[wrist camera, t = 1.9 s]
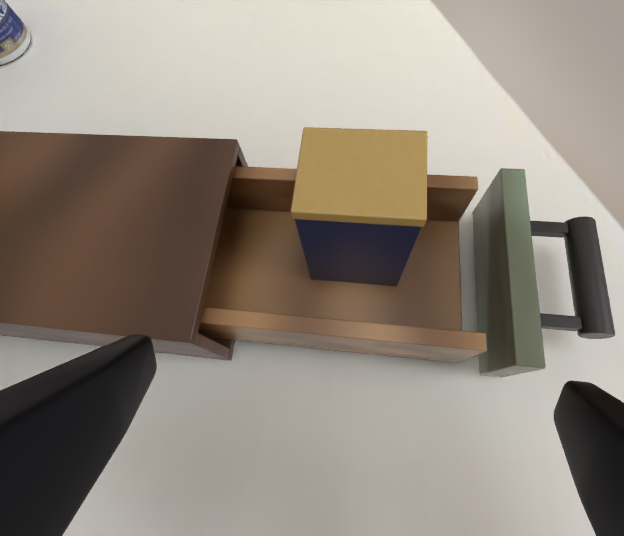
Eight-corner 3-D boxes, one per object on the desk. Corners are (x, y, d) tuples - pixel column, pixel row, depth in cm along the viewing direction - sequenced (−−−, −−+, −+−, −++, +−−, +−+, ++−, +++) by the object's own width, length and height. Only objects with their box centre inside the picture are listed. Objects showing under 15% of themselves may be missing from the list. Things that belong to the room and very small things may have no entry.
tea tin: (398, 287, 21) (427, 219, 13) (309, 280, 21) (290, 212, 14) (400, 223, 22) (427, 130, 15) (317, 218, 23) (303, 126, 15)
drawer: (558, 217, 23) (607, 172, 18) (581, 386, 19) (648, 379, 15) (214, 198, 25) (187, 155, 21) (179, 343, 22) (138, 326, 18)
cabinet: (261, 199, 26) (237, 138, 20) (231, 360, 22) (190, 343, 16) (19, 185, 28) (-66, 128, 22) (-48, 329, 24) (-170, 304, 19)
